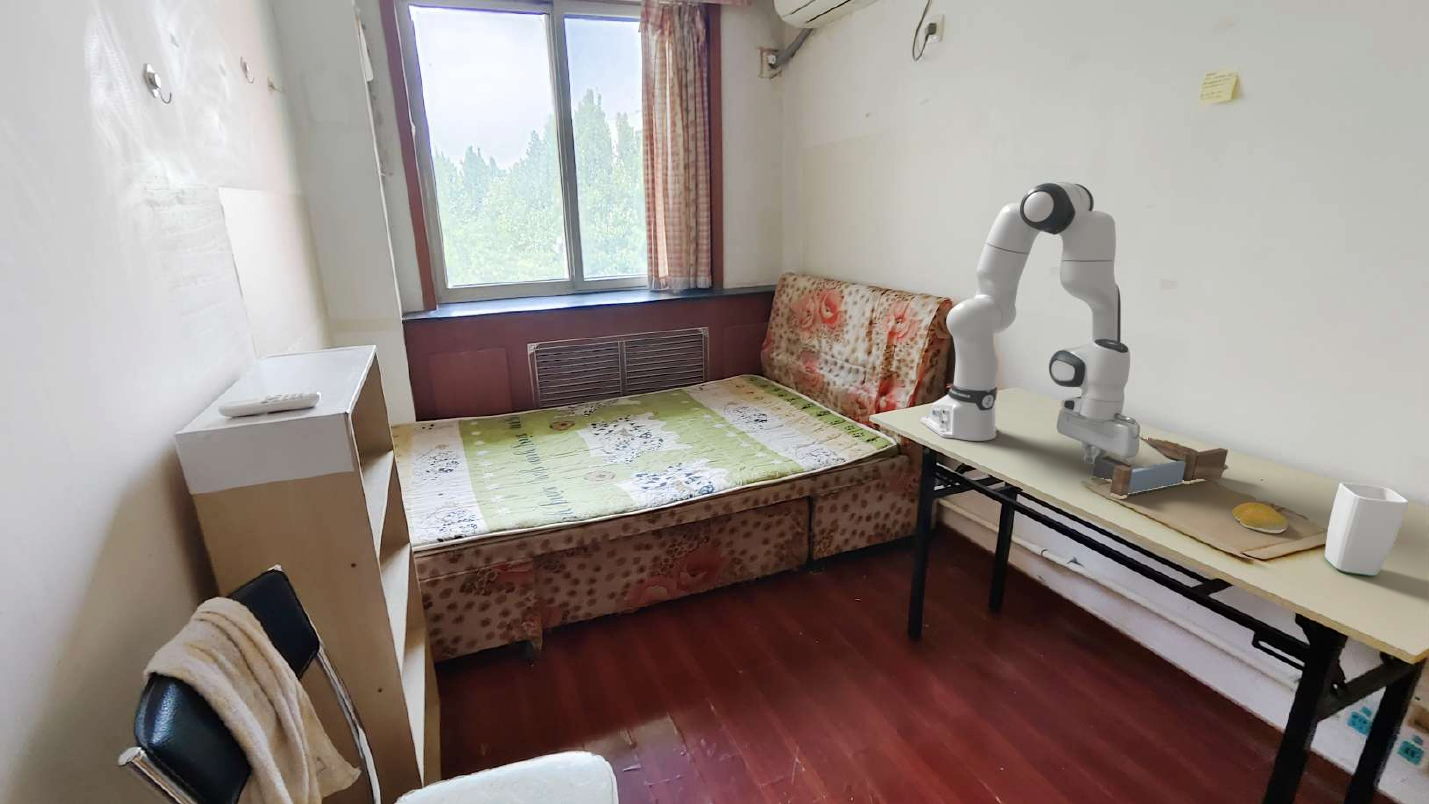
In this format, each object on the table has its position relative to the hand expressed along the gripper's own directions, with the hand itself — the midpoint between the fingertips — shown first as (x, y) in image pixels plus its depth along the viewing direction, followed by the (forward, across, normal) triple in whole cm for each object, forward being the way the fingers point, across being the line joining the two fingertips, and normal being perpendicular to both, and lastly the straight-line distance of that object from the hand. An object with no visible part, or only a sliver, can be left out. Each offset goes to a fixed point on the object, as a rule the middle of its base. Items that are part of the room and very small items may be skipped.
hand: (1091, 462), depth 157 cm
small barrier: (+2, -13, -8) cm, 16 cm away
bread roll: (+3, -33, -8) cm, 34 cm away
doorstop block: (+2, -5, 0) cm, 6 cm away
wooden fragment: (+3, +1, -31) cm, 31 cm away
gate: (+2, -13, -3) cm, 14 cm away
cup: (+2, -50, -5) cm, 50 cm away
